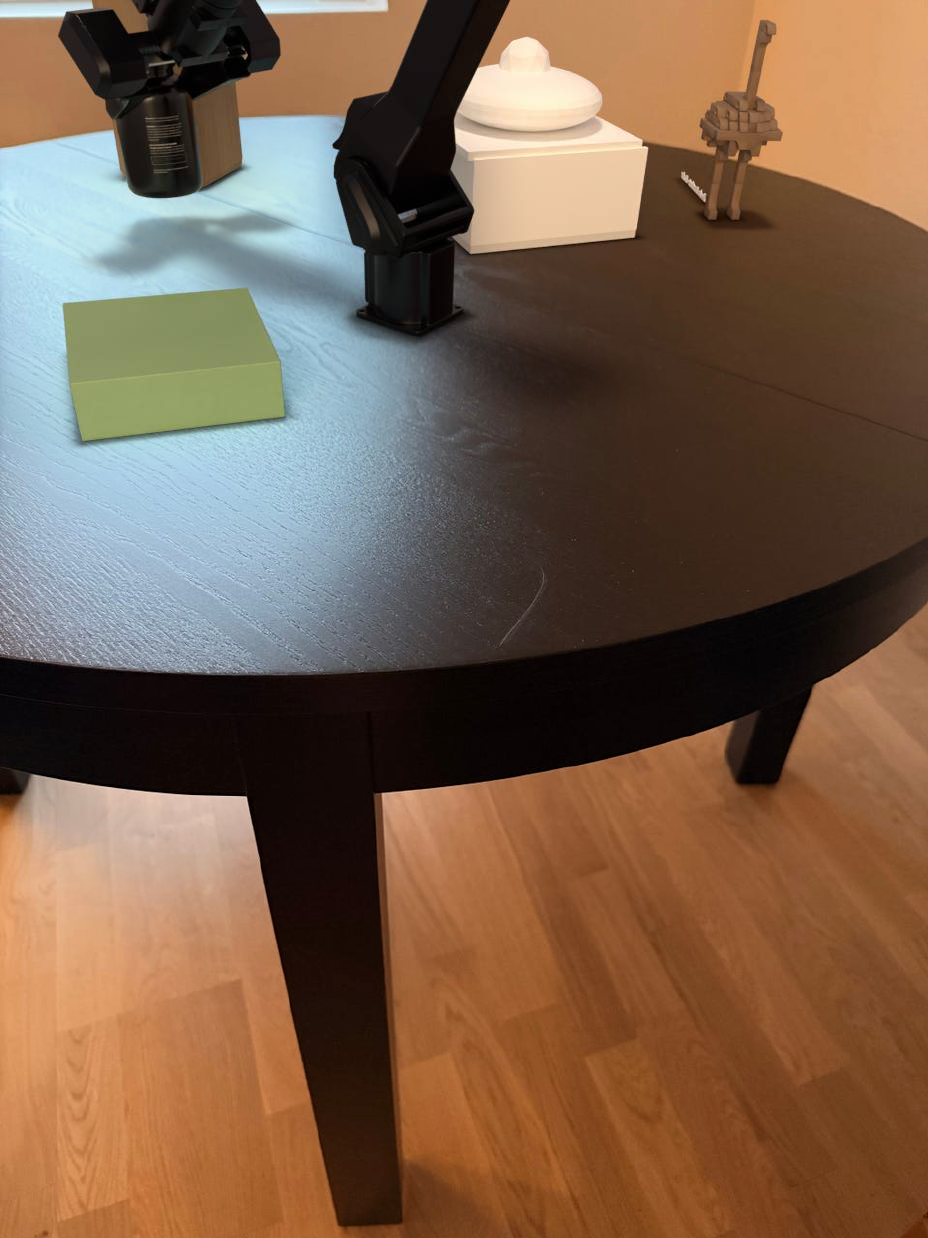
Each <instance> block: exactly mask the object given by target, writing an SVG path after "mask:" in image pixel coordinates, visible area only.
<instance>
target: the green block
mask: <svg viewBox="0 0 928 1238" xmlns="http://www.w3.org/2000/svg"><path fill="white" fill-rule="evenodd" d="M62 314H63V325H64V334H65V335H64V336H65V349H66V359H67V372H68V384H69V385H68V386H69V390H70V393H71V398H72V402H73V407H74V410H75V416H76V419H77V423H78V429H79V432H80V437H81V440H82V441H83V442H87V441H95V440H105V439H113V438H120V437H129V436H137V435H145V434H146V435H147V434H154V433H162V432H169V431H178V430H187V429H195V428H204V427H211V426H220V425H227V424H228V425H229V424H236V423H244V422H252V421H260V420H271V419H278V418H284V417H286V409H285V399H284V398H285V396H284V386H283V385H284V384H283V373H282V362H281V359H280V358H279V355H278V353H277V351H276V348H275V347H274V343H273V342H272V339H271V337H270V335H269V333H268V330H267V329H266V326H265V324H264V322H263V319H262V317H261V315H260V312H259V310H258V308H257V306H256V303H255V301H254V299H253V297H252V295H251V292H250V290H249V288H248V287H236V288H225V289H214V290H201V291H192V292H191V291H190V292H188V291H187V292H176V293H167V294H153V295H144V296H143V295H142V296H131V297H120V298H119V297H118V298H107V299H96V300H95V299H94V300H85V301H84V300H82V301H74V302H73V301H71V302H63V303H62Z"/></svg>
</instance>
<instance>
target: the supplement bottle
mask: <svg viewBox="0 0 928 1238" xmlns="http://www.w3.org/2000/svg"><path fill="white" fill-rule="evenodd" d="M175 65H176V63H169V64H163V65H157V66H150V67H149V71H148V74H147V77H148V79H147V81H146V83H145V84H146V86H147V87H148V89H149V91H150V92H151V95H150V96H148V97H147V98H146V99H144V100H143V101H142V102H140V103H139V104H138V105H136V106H135V107H134V108H132V109H131V110H130V111H128V112H127V113H126V114H124V115H123V116H121V117H120V118H118V119H116V126H117V131H118V137H119V142H120V148H121V153H122V158H123V164H124V169H125V174H126V177H125V178H126V184H127V187H128V189H129V190H130V191H131V193H132V194H133V195H136V196H138V197H141V198H148V199H175V198H182V197H187V196H190V195H194V194H196V193H197V192H199V191H200V190H201V187H202V184H203V177H202V169H201V162H200V154H199V147H198V140H197V133H196V126H195V118H194V111H193V104H192V97H191V91H190V87H189V85H188V83H187V82H186V81H185V80H184V79H183V78H182V77H181V76H179V75H178V74H176V73H175V72H174V70H173V67H174V66H175ZM202 188H203V187H202Z"/></svg>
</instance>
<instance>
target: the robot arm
mask: <svg viewBox="0 0 928 1238" xmlns="http://www.w3.org/2000/svg"><path fill="white" fill-rule="evenodd" d="M131 1H132V2H133V4H134V5H135V7H136V9H137V10H138V12H139V13H140V14H143V13H145V15H146V16H147V18H148V19H147V28H148V30H149V31H143V32H136V33H128V32H127V31H126V29H125V27H124V26H123V24H122V23H121V21H120V19H119V18H118V16H117V15H116V13H115V11H114V10H113V9H109V8H104V7H101V8H93V7H92V8H84V9H75V10H67V11H65V14H64V16H63V19H62V22H61V25H60V27H59V30H58V34H57V37H58V39H59V40H60V42H61V44H62V45H63V47H64V48H65V50H66V52H67V53H68V54H69V57H70V58H71V59H72V61H73V63H74V65H76V67H77V69H78V70H79V72H80V73H81V75H82V77H83V78H84V79H85V81H86V83H87V85H88V86H89V87H90V90H91V91H92V92H93V94H94V95H95V96H96V97H98V98H100V99H102V100H104V105H105V111H106V113H107V114H108V116H109V118H110V119H111V121H112V120H116V119H118V118H120V117H121V116H123V115H124V114H126V113H127V112H128V111H130V110H131V109H132V108H134V107H135V106H136V105H138V104H139V103H140V102H142V101H143V100H144V99H146V98H147V97H148V96H150V95H151V92H150V91H149V89H148V87H147V86H146V84H145V83H146V81H147V79H148V77H147V74H148V71H149V67H150V66H157V65H163V64H169V63H176V64H177V66H178V68H179V67H183V68H182V70H181V72H180V75H179V76H181V77H182V78H183V79H184V80H185V81H186V82H187V83H188V85H189V87H190V91H191V97H192V102H193V101H195V100H197V99H199V98H201V97H203V96H205V95H207V94H209V93H212V92H214V91H216V90H218V89H221V88H223V87H225V86H227V85H230V84H232V83H234V82H239V81H242V80H243V79H248V78H250V76H251V75H252V74H256V73H261V72H262V73H263V72H268V71H272V70H273V69H274V68H275V66H276V64H277V62H278V61H279V59H280V57H281V56H282V51H281V50H282V48H281V47H282V46H281V39H280V37H279V34H278V33H277V32H276V30H275V29H274V27H273V26H272V24H271V22H270V21H269V19H268V17H267V15H266V14H265V13H264V10H263V9H262V7H261V5H260V4H259V2H258V0H131ZM510 2H511V0H426V1H425V4H424V6H423V8H422V11H421V14H420V16H419V19H418V21H417V23H416V26H415V28H414V30H413V33H412V35H411V37H410V40H409V43H408V45H407V47H406V50H405V52H404V55H403V57H402V59H401V62H400V64H399V66H398V69H397V72H396V74H395V76H394V79H393V80H392V81H393V82H392V84H391V85H390V87H389V89H388V90H386V91H382V92H377V93H373V94H369V95H368V94H367V95H364V96H359V97H355V98H353V100H352V101H351V103H350V104H349V106H348V108H347V110H346V115H345V120H344V124H343V127H342V131H341V133H340V135H339V136H338V137H337V139H336V140H335V141H334V142H332V144H331V146H332V149H334V150H337V153H336V155H335V158H334V164H333V179H334V180H335V186H336V190H337V194H338V197H339V201H340V204H341V208H342V212H343V216H344V219H345V223H346V226H347V230H348V235H349V237H350V241H351V244H352V246H355V247H358V248H361V249H362V250H364V252H363V270H364V271H363V273H364V274H363V275H364V277H363V278H364V301H365V303H367V304H366V305H363V306H362V307H360V308H358V309H356V310H355V316H356V318H358V319H360V320H363V321H367V322H370V323H372V324H376V325H379V326H382V327H385V328H387V329H391V330H394V331H397V332H399V333H403V334H405V335H407V336H408V335H409V336H413V337H415V338H419V337H420V338H421V337H424V336H425V335H427V334H429V333H430V332H433V331H434V330H436V329H438V328H439V327H441V326H444V325H445V324H447V323H449V322H451V321H452V320H455V319H456V318H458V317H460V316H462V315H463V314H465V313H464V312H465V307H464V306H463V305H459V304H456V303H454V288H455V287H454V284H455V257H456V256H455V253H456V241H454V240H450V238H452V237H453V236H455V235H458V234H464V233H466V232H467V231H468V229H469V226H470V223H471V220H472V217H473V214H474V207H473V205H472V204H471V202H470V200H469V199H468V197H467V195H466V194H465V192H464V190H463V189H462V187H461V185H460V184H459V182H458V180H457V179H456V177H455V175H454V174H453V172H452V170H451V167H452V163H453V160H454V157H455V154H456V137H455V124H454V119H455V116H456V113H457V110H458V108H459V106H460V104H461V102H462V100H463V98H464V96H465V94H466V91H467V89H468V87H469V85H470V83H471V81H472V79H473V77H474V75H475V73H476V71H477V69H478V68H479V66H480V64H481V62H482V60H483V58H484V56H485V54H486V53H487V50H488V48H489V46H490V43H491V42H492V39H493V37H494V35H495V33H496V31H497V29H498V27H499V26H500V23H501V21H502V19H503V17H504V15H505V13H506V11H507V8H508V6H509V4H510ZM246 55H247V56H246ZM413 210H416V213H413V214H412V215H411V214H410V215H409V216H408V215H407V216H405V217H403V218H400V216H399V215H402V214H405V213H407V212H408V213H409V212H410V211H413Z"/></svg>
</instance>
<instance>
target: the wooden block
mask: <svg viewBox="0 0 928 1238" xmlns="http://www.w3.org/2000/svg"><path fill="white" fill-rule="evenodd" d="M91 4H92V9H93V8H101V7H104V8H109V9H113V10H114V11H115V13H116V15H117V16H118V18H119V19H120V21H121V23H122V24H123V26H124V27H125V29H126V31H127V32H128V33H136V32H143V31H149V30H148V28H147V19H148V18H147V16H146V15H145V13H143V14H140V13H139V12H138V10H137V9H136V7H135V5H134V4H133V2H132V1H131V0H91ZM182 68H183V67H179V68H178V66H177V64H176V65H175V66H174V67H173V70H174V72H175V73H176V74H178V75H180V72H181V70H182ZM192 104H193V111H194V118H195V126H196V133H197V140H198V147H199V154H200V162H201V169H202V177H203V184H202V187H201V188H205V187H207V186H209V185H210V184H212V183H213V182H215V181H217V180H219V179H221V178H222V177H224V176H226V175H228V174H230V173H231V172H233V171H235V170H237V169H239V168H240V167H241V166H242V163H243V158H244V157H243V149H242V148H243V147H242V137H241V136H242V135H241V125H240V116H239V114H240V113H239V106H238V105H239V104H238V95H237V84H236V82H234V83H232V84H230V85H227V86H225V87H223V88H221V89H218V90H216V91H214V92H212V93H209V94H207V95H205V96H203V97H201V98H199V99H197V100H195V101H193V102H192ZM111 123H112V129H113V134H114V135H113V136H114V140H115V141H114V142H115V147H116V152H117V158H118V164H119V170H120V172H121V174H122V176H124V177H125V178H126V174H125V169H124V164H123V158H122V153H121V148H120V142H119V137H118V131H117V126H116V120H112V119H111ZM201 188H200V189H201Z"/></svg>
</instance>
